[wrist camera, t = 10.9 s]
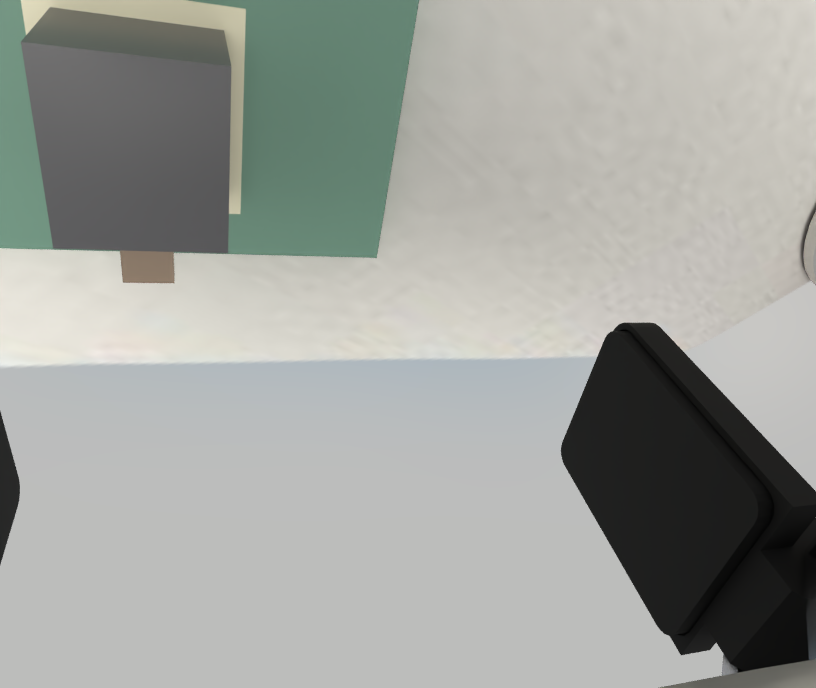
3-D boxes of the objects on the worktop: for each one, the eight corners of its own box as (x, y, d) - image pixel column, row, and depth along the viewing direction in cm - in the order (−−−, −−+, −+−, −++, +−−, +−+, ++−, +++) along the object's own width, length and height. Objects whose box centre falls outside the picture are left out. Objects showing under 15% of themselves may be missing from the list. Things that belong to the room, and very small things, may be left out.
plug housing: (224, 30, 23) (231, 66, 19) (221, 238, 28) (227, 300, 24) (50, 7, 21) (20, 41, 18) (79, 233, 26) (60, 299, 22)
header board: (414, -30, 25) (448, -12, 22) (371, 245, 32) (391, 290, 28) (-238, -145, 19) (-327, -143, 15) (-117, 230, 25) (-161, 285, 22)
